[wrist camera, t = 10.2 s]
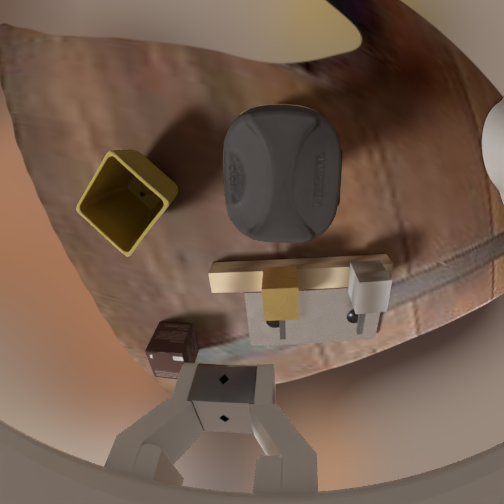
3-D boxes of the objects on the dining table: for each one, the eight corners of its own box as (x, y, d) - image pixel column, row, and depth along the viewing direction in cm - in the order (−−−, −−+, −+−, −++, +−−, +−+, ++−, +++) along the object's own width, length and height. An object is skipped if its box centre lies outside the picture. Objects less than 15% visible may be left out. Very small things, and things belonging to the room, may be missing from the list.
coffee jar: (245, 109, 32) (212, 100, 15) (313, 109, 31) (352, 101, 15) (247, 187, 36) (220, 254, 19) (312, 188, 35) (342, 256, 19)
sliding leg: (296, 265, 36) (298, 287, 32) (297, 332, 41) (298, 357, 36) (263, 267, 37) (261, 289, 32) (268, 333, 41) (267, 358, 37)
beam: (386, 249, 38) (407, 279, 31) (377, 312, 42) (392, 347, 35) (212, 257, 41) (198, 289, 33) (222, 320, 45) (213, 356, 38)
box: (166, 346, 49) (153, 377, 42) (159, 320, 46) (143, 350, 40) (199, 349, 49) (189, 381, 42) (194, 322, 46) (182, 354, 39)
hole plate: (382, 281, 40) (385, 286, 39) (373, 334, 44) (375, 338, 43) (245, 289, 42) (244, 293, 41) (251, 341, 47) (250, 346, 46)
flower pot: (155, 229, 39) (127, 259, 31) (110, 189, 37) (73, 210, 29) (194, 183, 36) (171, 203, 28) (145, 139, 34) (109, 148, 26)
